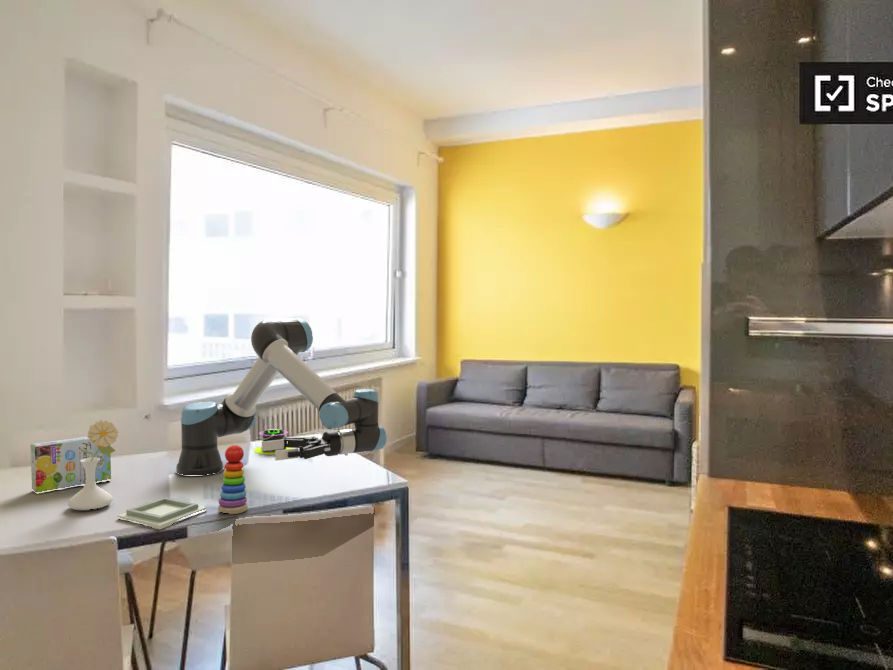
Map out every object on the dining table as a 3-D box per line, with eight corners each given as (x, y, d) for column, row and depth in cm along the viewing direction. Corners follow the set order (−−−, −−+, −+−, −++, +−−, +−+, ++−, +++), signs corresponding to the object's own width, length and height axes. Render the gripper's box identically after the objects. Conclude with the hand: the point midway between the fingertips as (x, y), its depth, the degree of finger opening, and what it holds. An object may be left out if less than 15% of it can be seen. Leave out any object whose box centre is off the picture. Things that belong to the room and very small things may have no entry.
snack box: (105, 478, 214) (105, 433, 213) (111, 482, 210) (110, 436, 209) (31, 491, 199) (30, 442, 198) (35, 495, 195) (34, 446, 194)
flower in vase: (65, 516, 177) (63, 425, 176) (70, 503, 188) (69, 418, 186) (118, 510, 183) (117, 422, 181) (120, 498, 193) (119, 415, 192)
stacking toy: (238, 516, 179) (238, 449, 178) (212, 514, 181) (212, 447, 180) (252, 507, 187) (252, 443, 186) (227, 505, 188) (227, 441, 187)
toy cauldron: (255, 446, 262) (255, 419, 262) (293, 445, 266) (293, 418, 265) (252, 455, 248) (252, 427, 247) (292, 454, 251) (292, 426, 251)
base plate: (117, 519, 175) (117, 510, 175) (166, 503, 190) (165, 495, 190) (159, 529, 168) (159, 520, 168) (206, 511, 183) (206, 503, 183)
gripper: (353, 463, 188) (281, 473, 177) (322, 447, 210) (257, 454, 199) (353, 437, 188) (281, 446, 177) (322, 424, 209) (256, 430, 198)
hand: (268, 450), depth 188 cm, fingers open, 13 cm apart
